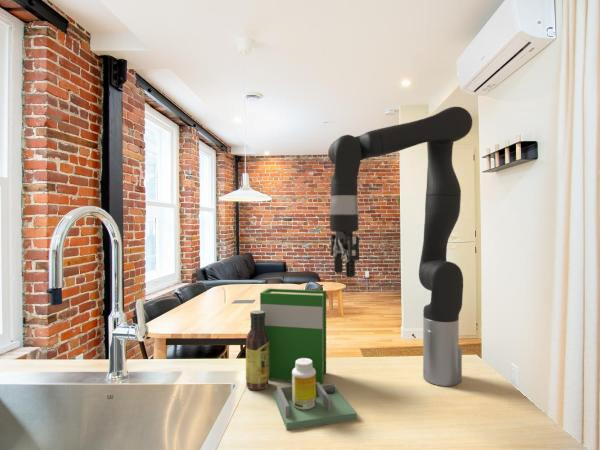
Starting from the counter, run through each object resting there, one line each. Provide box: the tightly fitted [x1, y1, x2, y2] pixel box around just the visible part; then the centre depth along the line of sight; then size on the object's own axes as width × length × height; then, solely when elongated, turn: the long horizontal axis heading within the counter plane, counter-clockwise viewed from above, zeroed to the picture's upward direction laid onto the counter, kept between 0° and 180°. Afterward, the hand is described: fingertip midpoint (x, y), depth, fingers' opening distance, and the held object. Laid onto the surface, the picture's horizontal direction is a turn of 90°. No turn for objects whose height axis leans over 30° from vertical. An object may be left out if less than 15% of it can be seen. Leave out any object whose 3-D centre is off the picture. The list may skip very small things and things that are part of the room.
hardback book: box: [259, 288, 327, 385], centre depth 106 cm, size 18×7×24 cm, turn 78°
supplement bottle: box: [291, 358, 316, 410], centre depth 86 cm, size 6×6×10 cm
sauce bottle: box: [245, 309, 270, 391], centre depth 99 cm, size 7×6×20 cm
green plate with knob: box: [273, 382, 358, 431], centre depth 88 cm, size 16×15×4 cm
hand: (344, 274), depth 98 cm, fingers open, 8 cm apart
